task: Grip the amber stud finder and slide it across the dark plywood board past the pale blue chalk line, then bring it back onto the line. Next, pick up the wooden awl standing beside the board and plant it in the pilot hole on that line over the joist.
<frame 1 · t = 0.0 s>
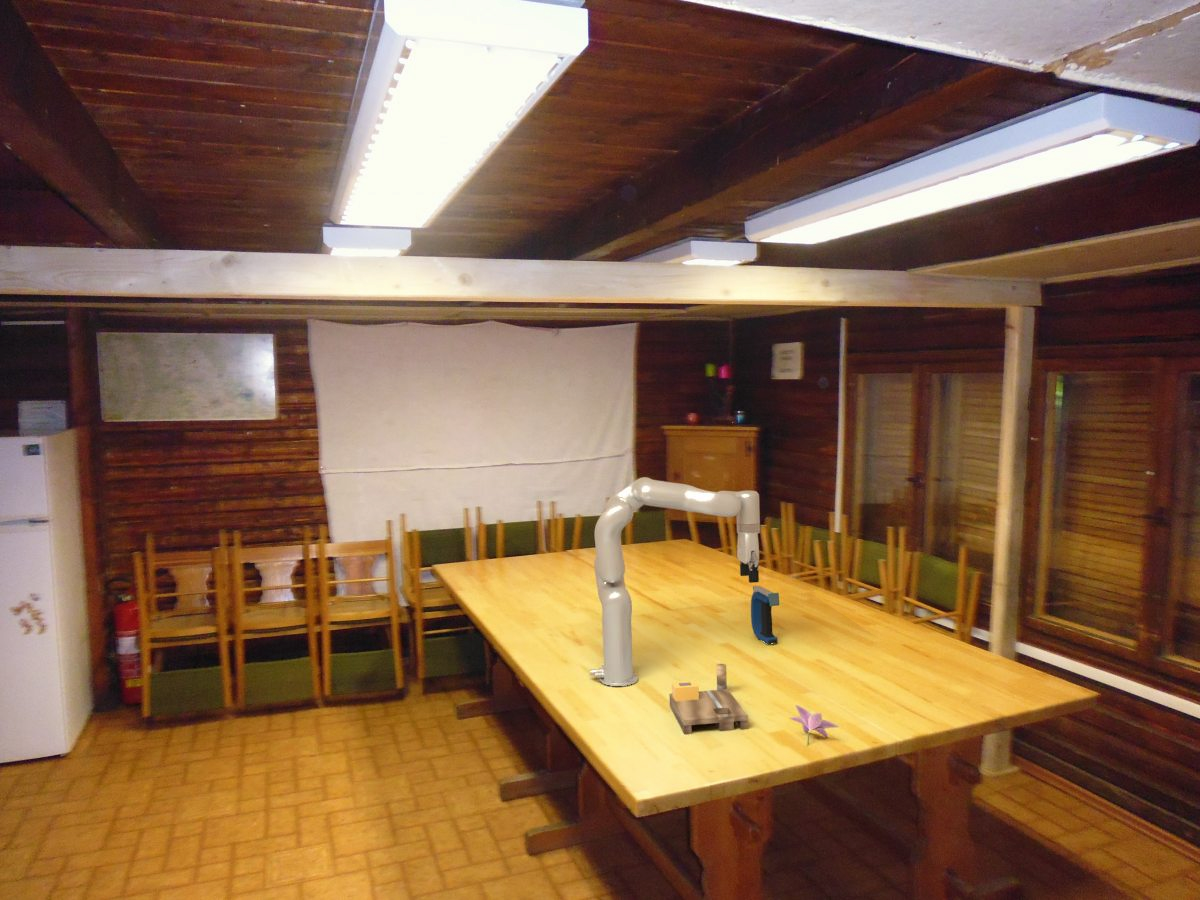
hand: (749, 578, 271), 31 cm above the table, tool pointing down, fingers open, 9 cm apart
lily: (812, 740, 219), on the table
handheld scanner: (766, 640, 304), on the table
stud finder: (685, 697, 241), point 4 cm above the table, touching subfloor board
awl: (722, 693, 253), on the table
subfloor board: (707, 717, 236), on the table
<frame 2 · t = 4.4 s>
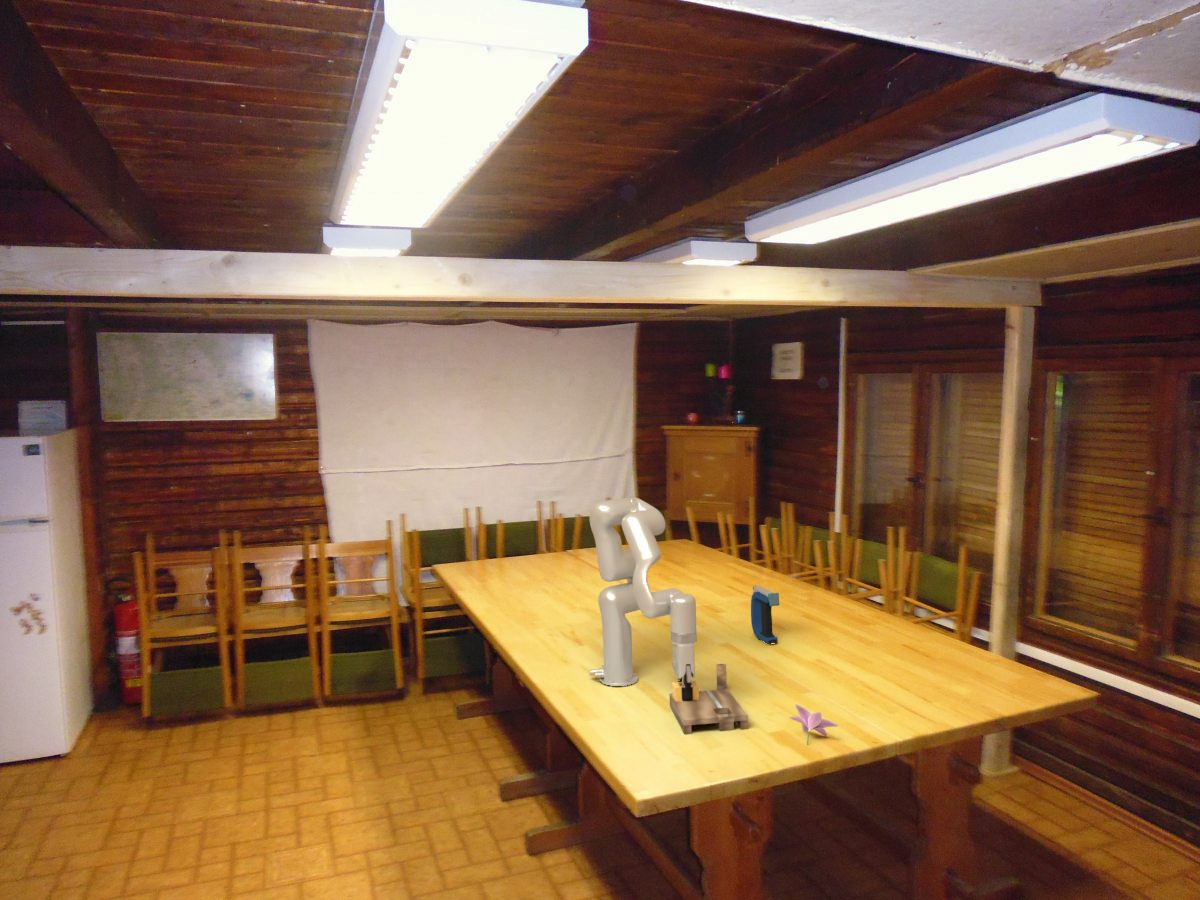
hand: (685, 696, 241), 4 cm above the table, tool pointing down, fingers closed on stud finder, 4 cm apart
stud finder: (685, 697, 241), point 4 cm above the table, touching gripper, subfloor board
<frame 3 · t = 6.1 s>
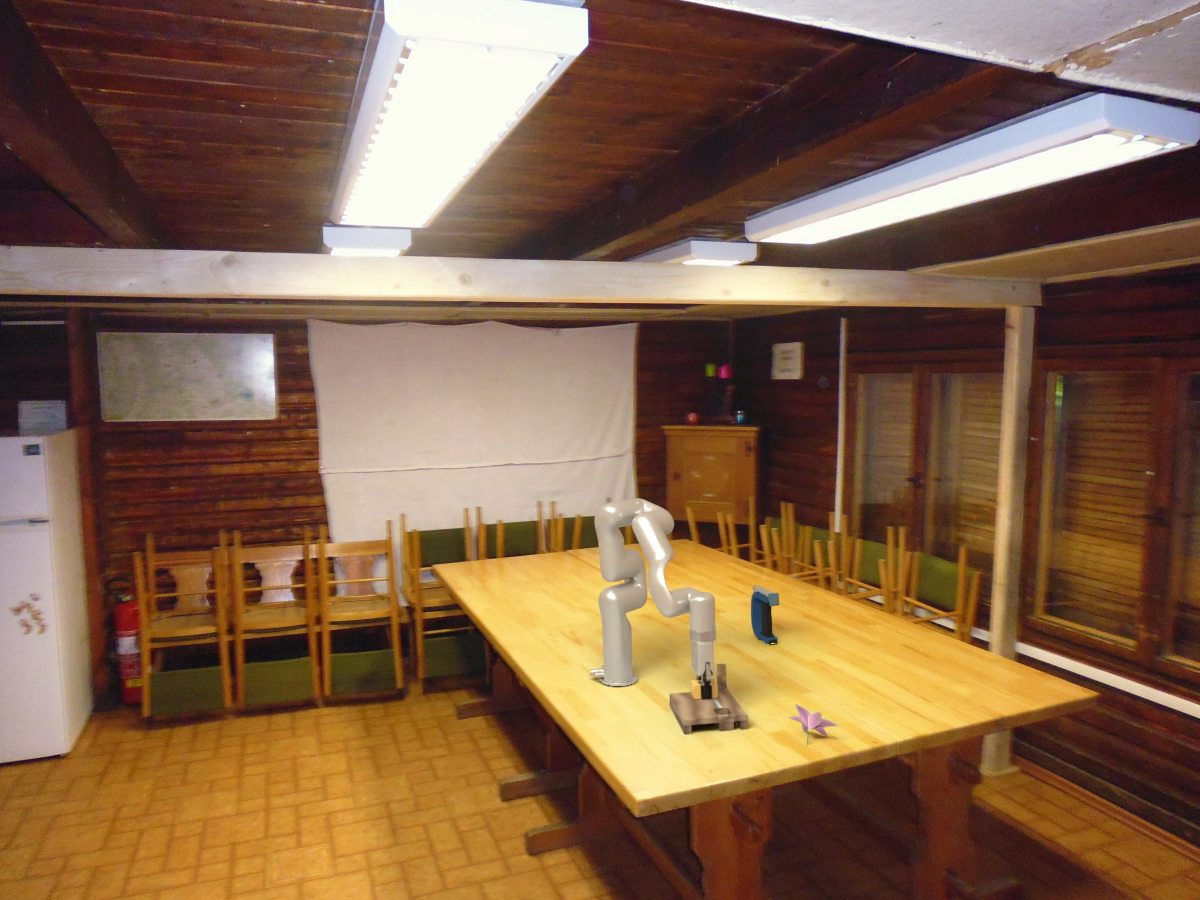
hand: (704, 694, 241), 5 cm above the table, tool pointing down, fingers closed on stud finder, 4 cm apart
stud finder: (704, 695, 241), point 4 cm above the table, touching gripper
everything else where it was.
when the fingers open (5 cm above the table, at t = 8.2 s): stud finder stays where it is, resting on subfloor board.
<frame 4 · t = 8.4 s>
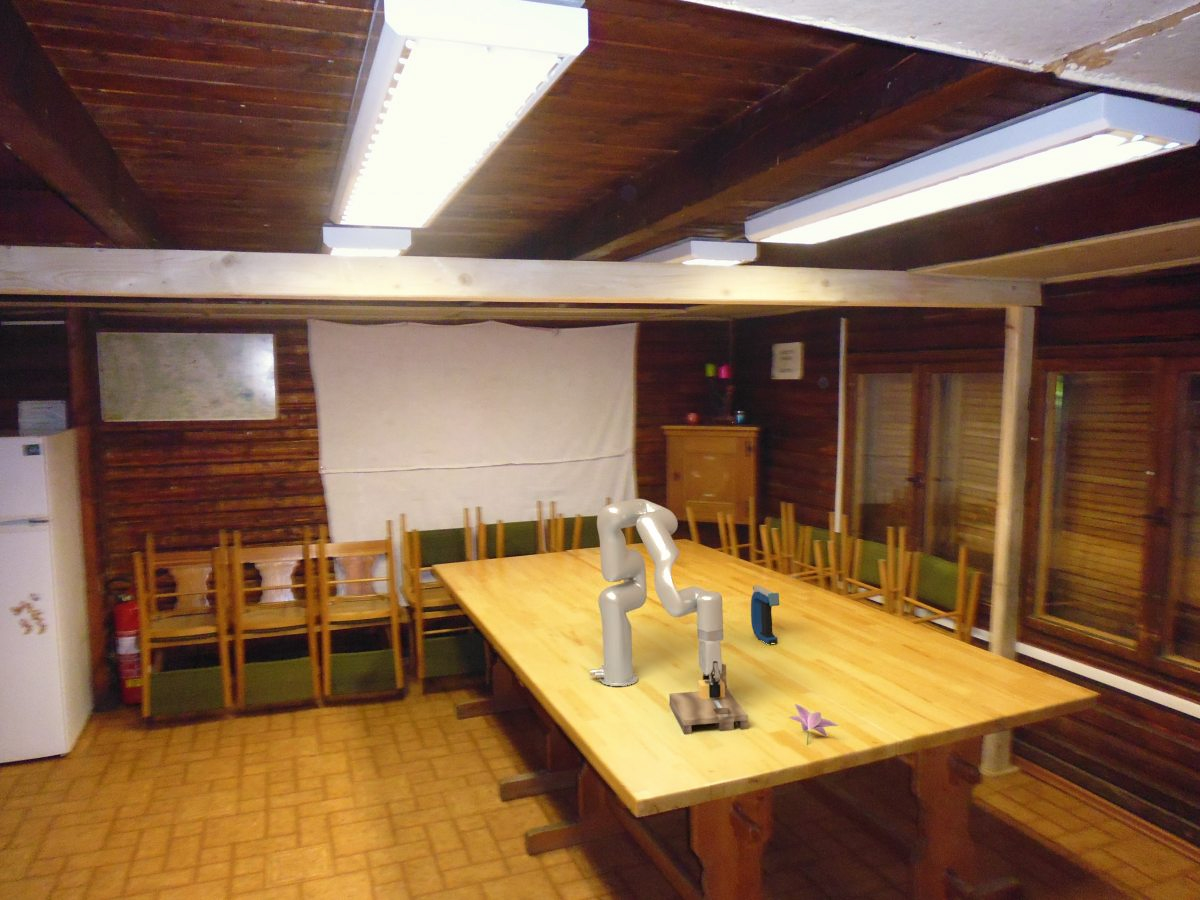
hand: (711, 692, 241), 5 cm above the table, tool pointing down, fingers open, 6 cm apart
stud finder: (711, 695, 242), point 4 cm above the table, touching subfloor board
everything else where it was.
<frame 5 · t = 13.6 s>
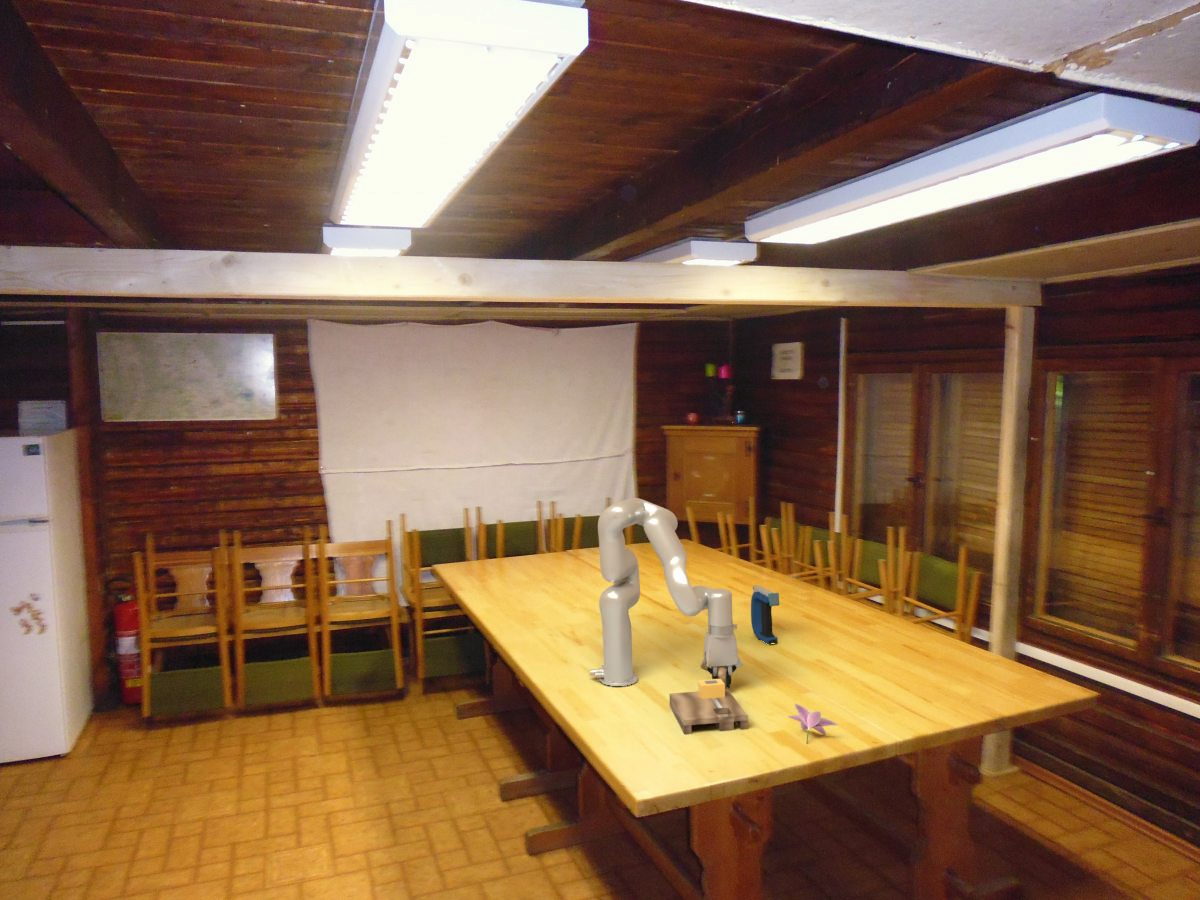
hand: (721, 686, 253), 2 cm above the table, tool pointing down, fingers closed on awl, 3 cm apart
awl: (722, 693, 253), on the table, touching gripper
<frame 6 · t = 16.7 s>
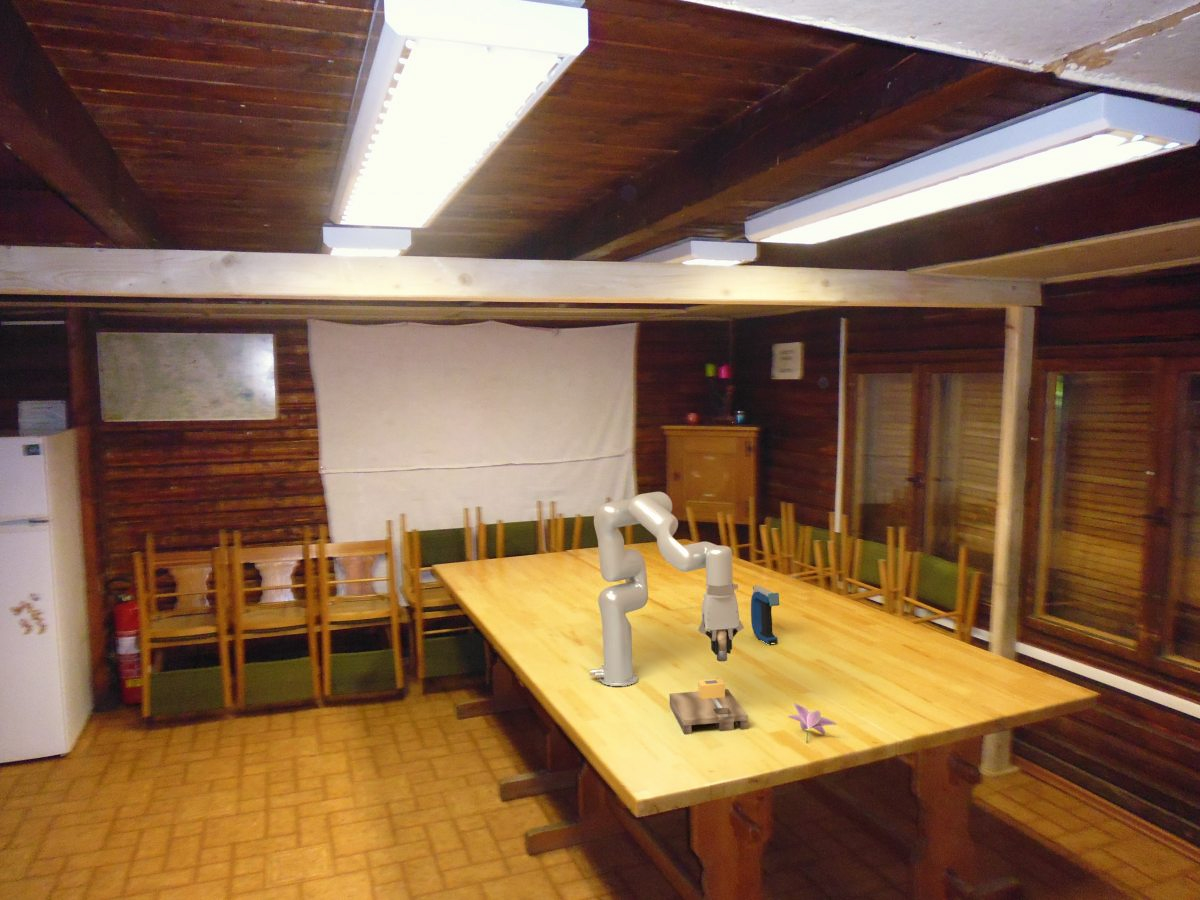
hand: (721, 652, 233), 20 cm above the table, tool pointing down, fingers closed on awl, 3 cm apart
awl: (721, 659, 233), point 17 cm above the table, touching gripper
when the fingers open (5 cm above the table, at t = 20.0 s): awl stays where it is, resting on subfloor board.
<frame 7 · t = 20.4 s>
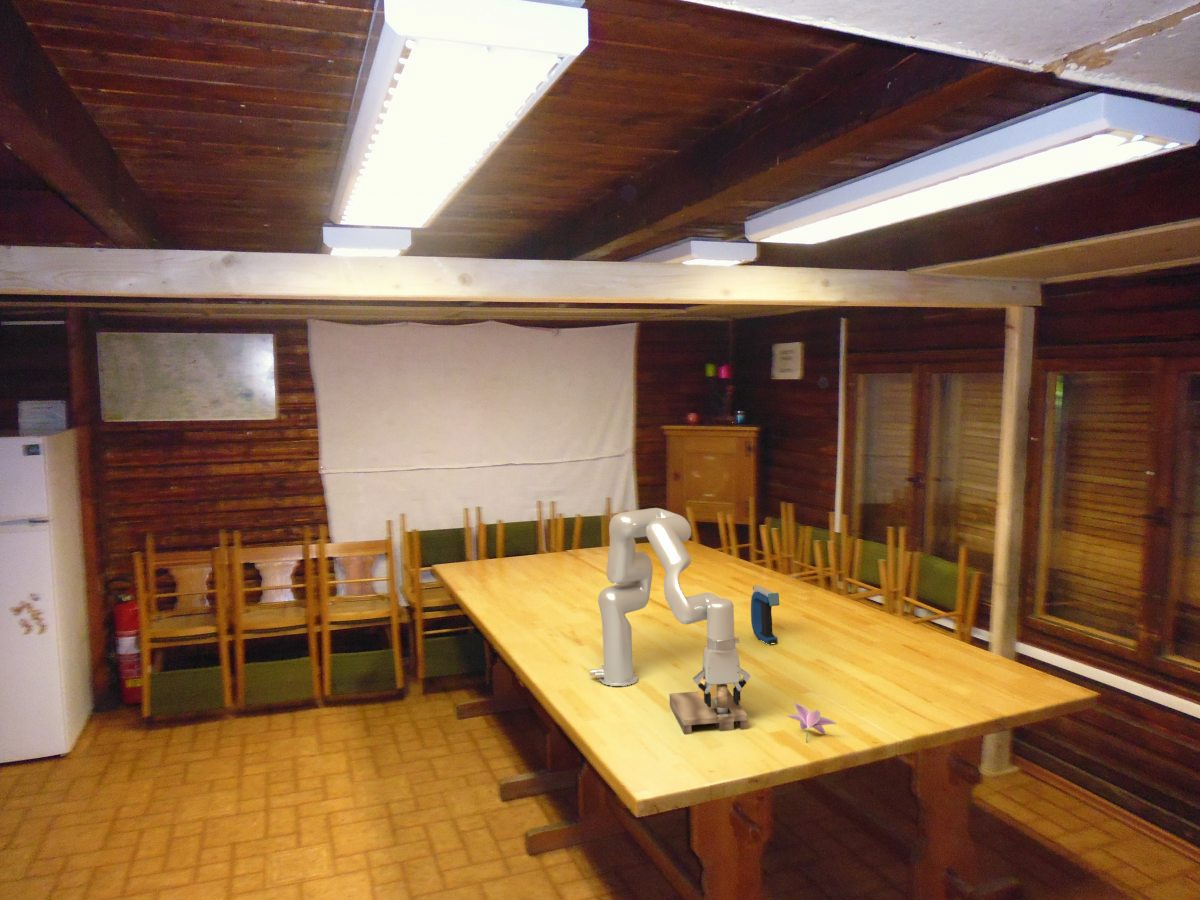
hand: (722, 704, 230), 6 cm above the table, tool pointing down, fingers open, 7 cm apart
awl: (722, 716, 230), point 3 cm above the table, touching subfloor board
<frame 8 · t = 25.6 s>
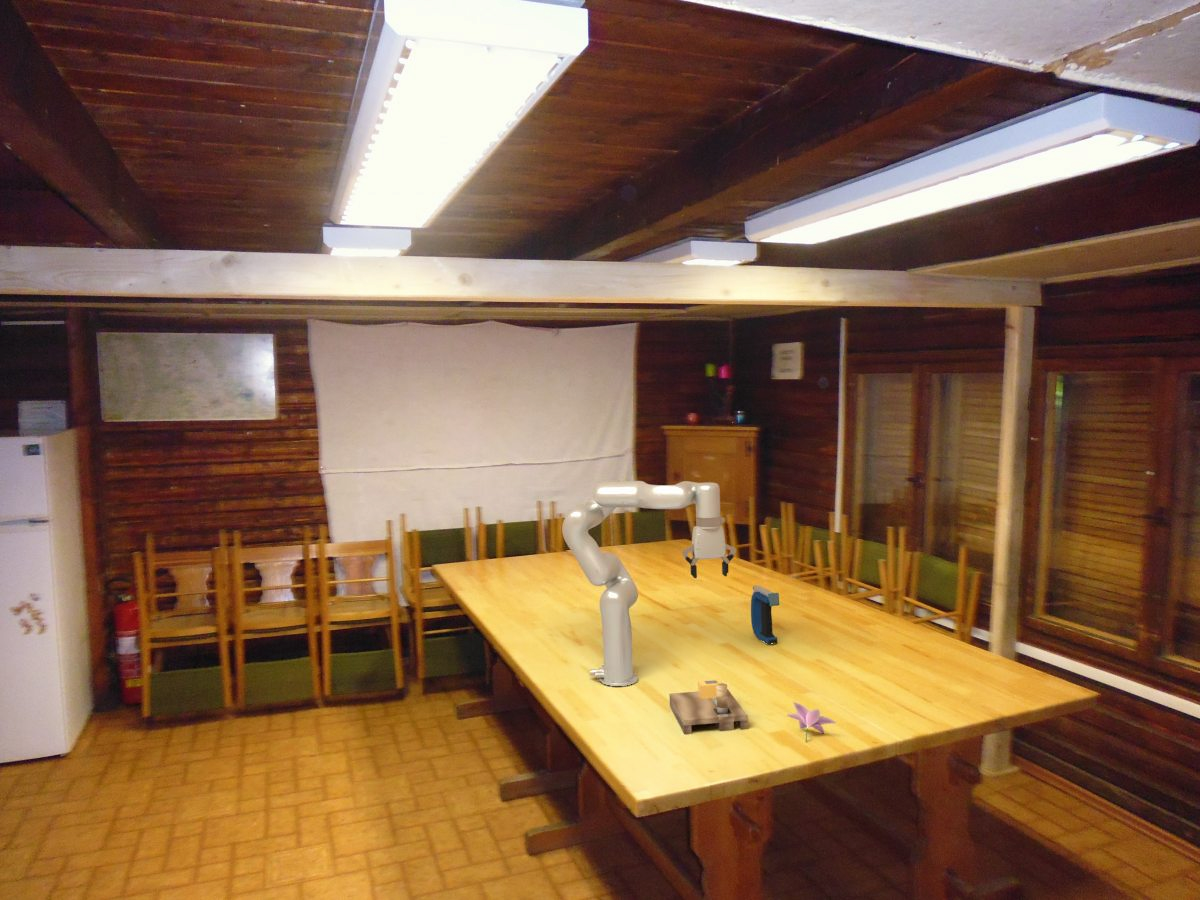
hand: (709, 576, 254), 36 cm above the table, tool pointing down, fingers open, 9 cm apart
at the end: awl 0.0 cm from the target spot on the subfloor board, point 2.5 cm above the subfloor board's base; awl tilted 0°; stud finder 0.1 cm from the target spot on the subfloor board, point 4.0 cm above the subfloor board's base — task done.
